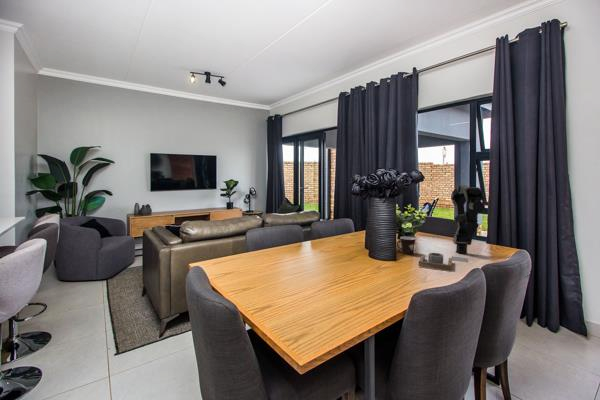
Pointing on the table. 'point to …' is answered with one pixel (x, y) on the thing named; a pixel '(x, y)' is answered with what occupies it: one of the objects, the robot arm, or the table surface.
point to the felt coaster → (459, 259)
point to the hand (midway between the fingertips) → (470, 237)
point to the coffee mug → (407, 245)
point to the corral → (435, 264)
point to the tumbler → (435, 258)
